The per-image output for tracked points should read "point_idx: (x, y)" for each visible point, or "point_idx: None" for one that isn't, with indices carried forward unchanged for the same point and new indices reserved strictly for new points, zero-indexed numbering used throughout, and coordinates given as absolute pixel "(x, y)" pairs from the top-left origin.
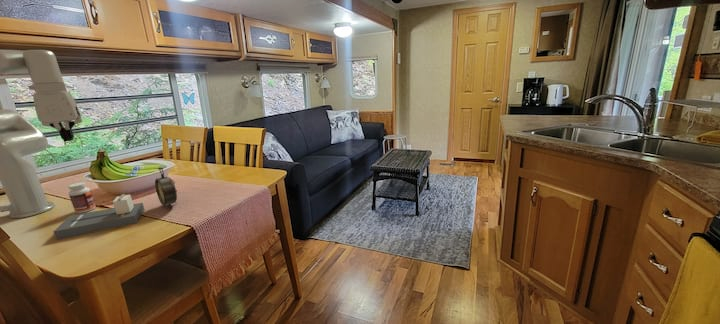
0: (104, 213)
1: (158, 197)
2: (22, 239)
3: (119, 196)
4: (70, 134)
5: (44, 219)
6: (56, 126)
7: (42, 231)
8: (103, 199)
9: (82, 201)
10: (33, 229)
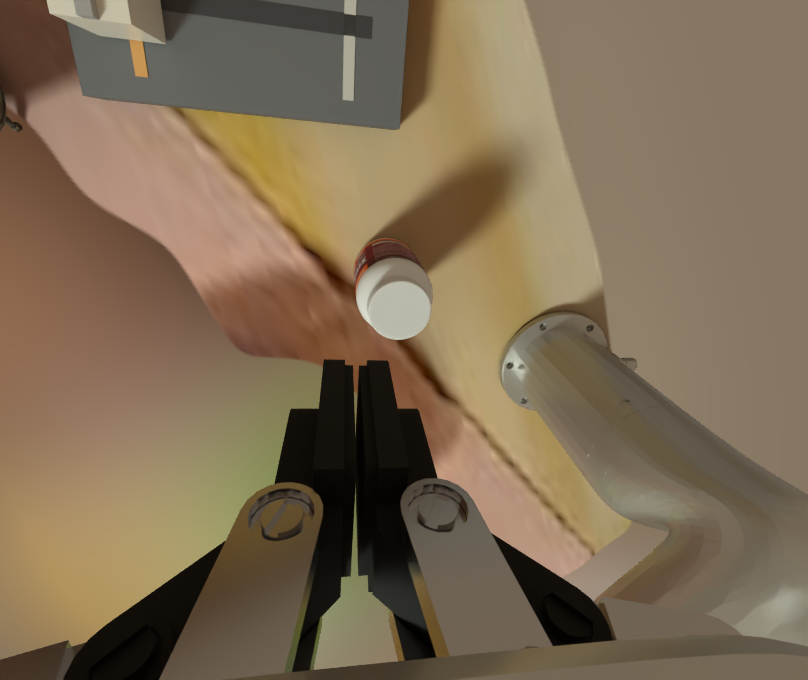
0: (243, 43)
1: (2, 115)
2: (532, 62)
3: (113, 15)
4: (294, 439)
5: (503, 252)
6: (471, 559)
7: (484, 110)
8: (352, 355)
9: (380, 250)
10: (517, 160)
